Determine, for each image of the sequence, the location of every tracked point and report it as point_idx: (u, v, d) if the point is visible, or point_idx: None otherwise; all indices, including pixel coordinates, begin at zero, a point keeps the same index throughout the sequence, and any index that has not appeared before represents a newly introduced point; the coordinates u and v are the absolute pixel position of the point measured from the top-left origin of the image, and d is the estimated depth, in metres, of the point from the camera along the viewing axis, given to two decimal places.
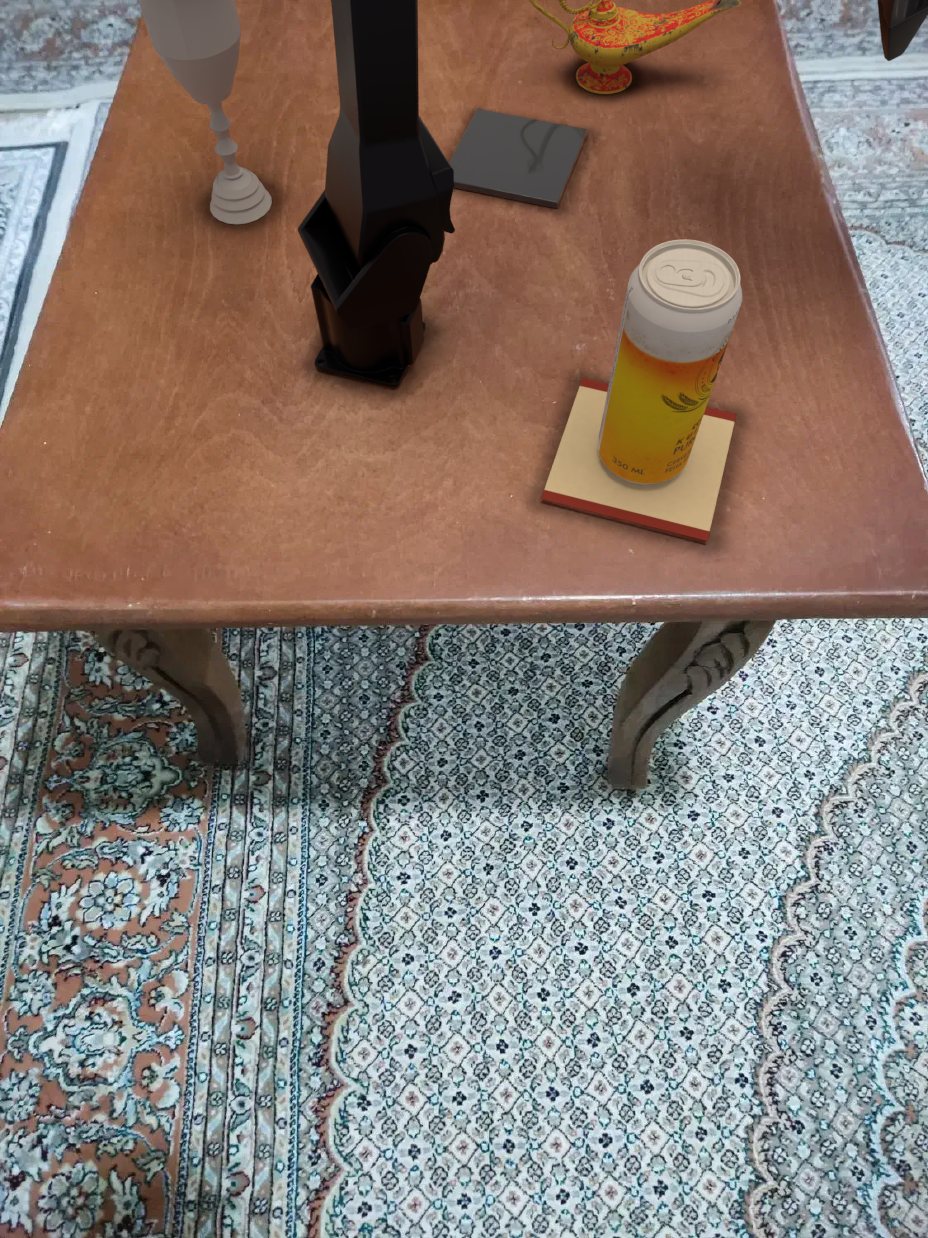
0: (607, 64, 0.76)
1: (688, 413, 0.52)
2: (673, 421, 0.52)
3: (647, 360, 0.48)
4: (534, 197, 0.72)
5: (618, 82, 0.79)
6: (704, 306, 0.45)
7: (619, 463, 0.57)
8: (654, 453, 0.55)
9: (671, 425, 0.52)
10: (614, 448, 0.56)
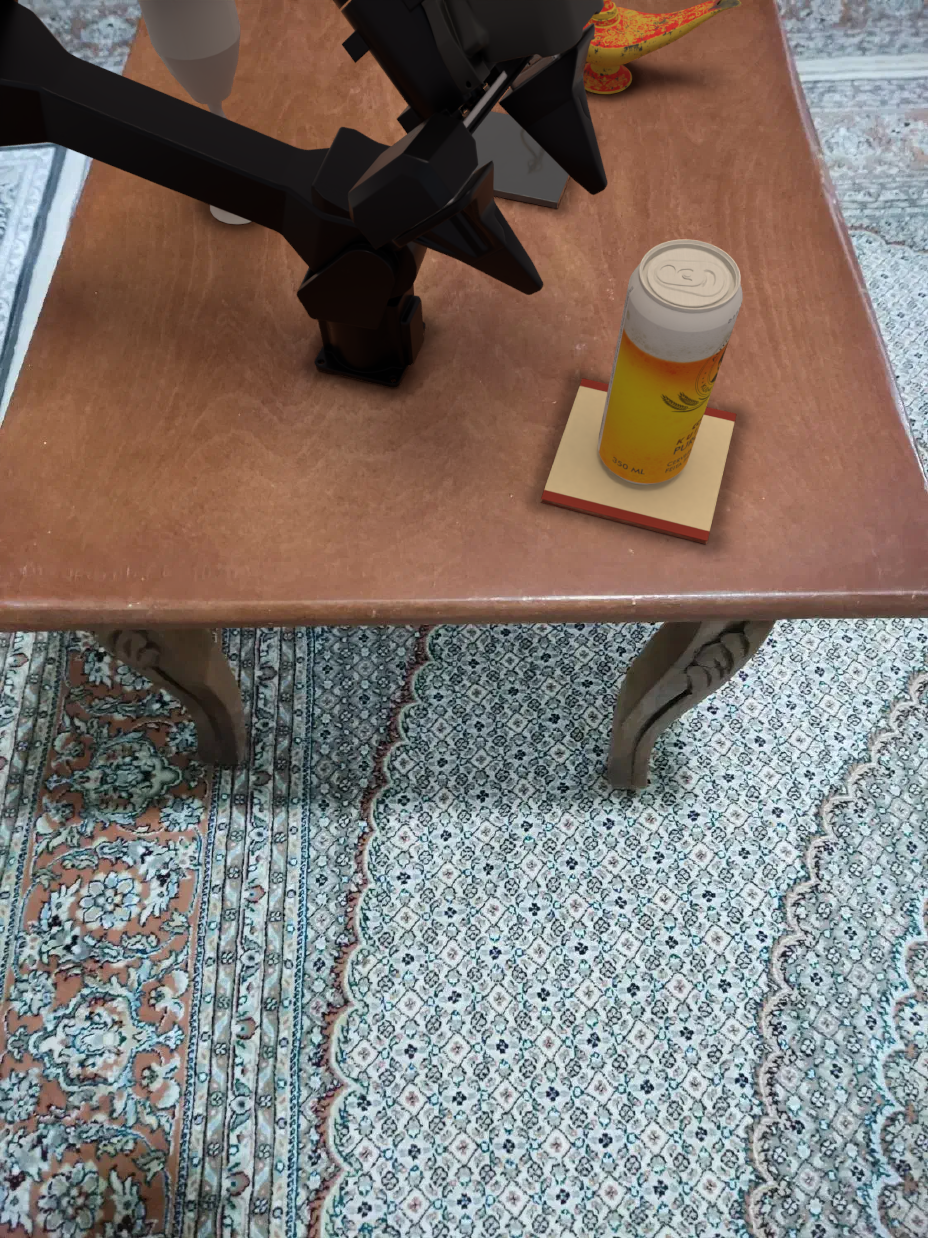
0: (607, 64, 0.76)
1: (689, 413, 0.52)
2: (673, 421, 0.52)
3: (647, 360, 0.48)
4: (534, 197, 0.72)
5: (618, 82, 0.79)
6: (704, 306, 0.45)
7: (619, 462, 0.57)
8: (654, 453, 0.55)
9: (671, 425, 0.52)
10: (614, 448, 0.56)
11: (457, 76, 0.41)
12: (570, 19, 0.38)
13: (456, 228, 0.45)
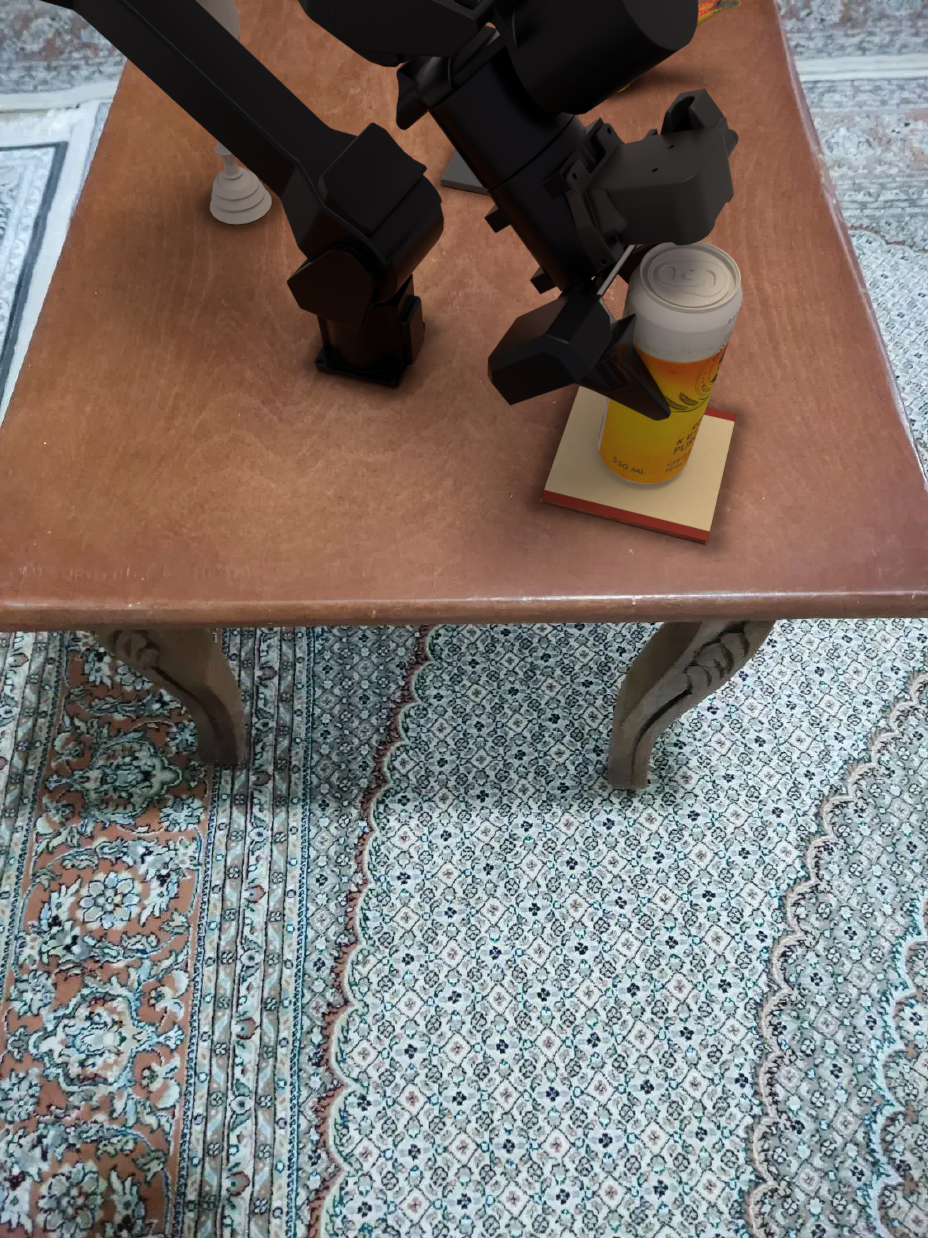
0: None
1: (689, 413, 0.52)
2: (673, 421, 0.52)
3: (647, 360, 0.48)
4: None
5: None
6: (704, 306, 0.45)
7: (619, 462, 0.57)
8: (655, 453, 0.55)
9: (671, 425, 0.52)
10: (614, 448, 0.56)
11: (593, 254, 0.45)
12: (705, 215, 0.41)
13: (595, 365, 0.49)
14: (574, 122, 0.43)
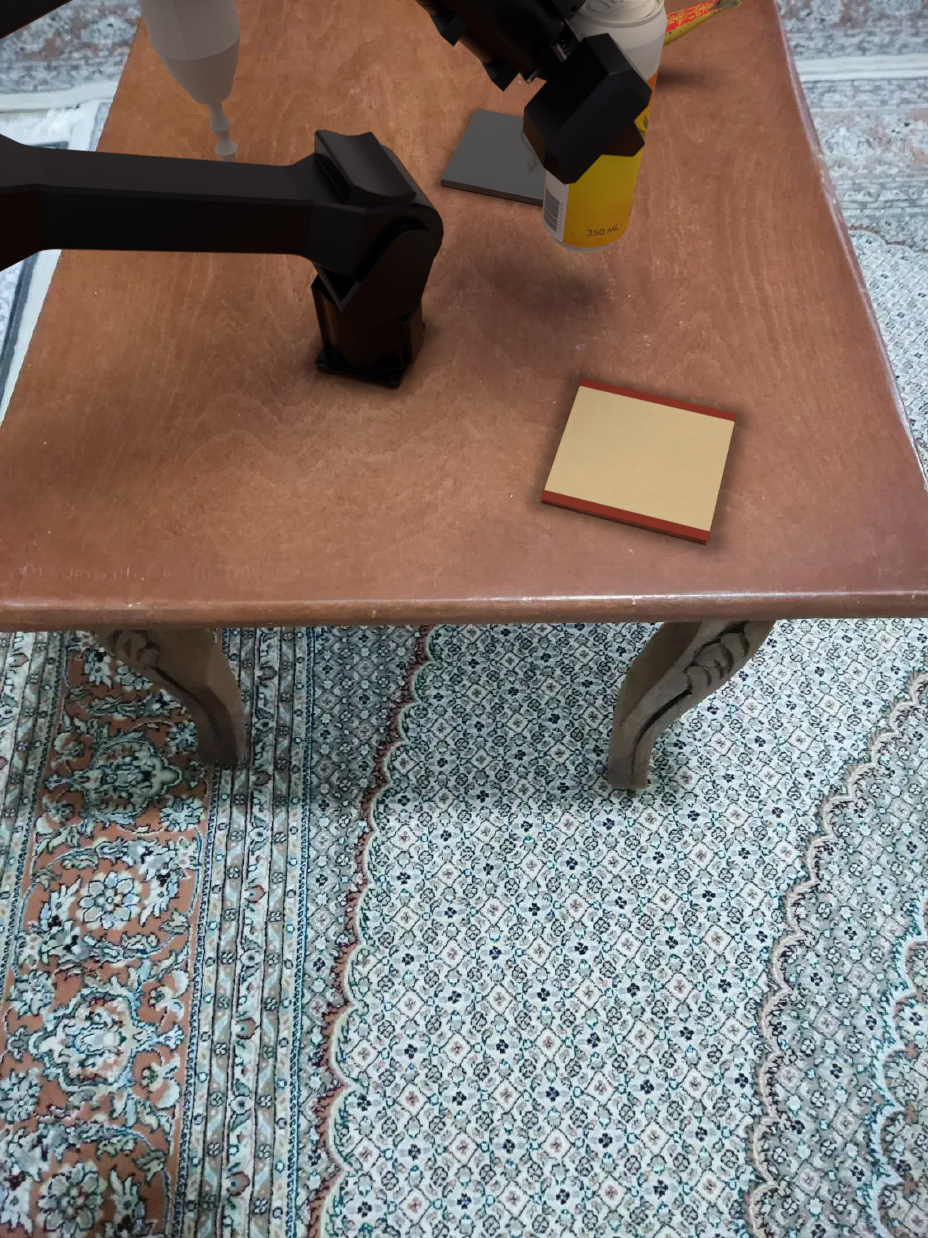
0: None
1: (644, 139, 0.56)
2: (638, 153, 0.56)
3: None
4: (534, 197, 0.72)
5: None
6: (652, 11, 0.49)
7: (595, 231, 0.59)
8: (625, 199, 0.58)
9: (637, 158, 0.56)
10: (588, 220, 0.58)
11: (564, 6, 0.46)
12: None
13: None
14: None
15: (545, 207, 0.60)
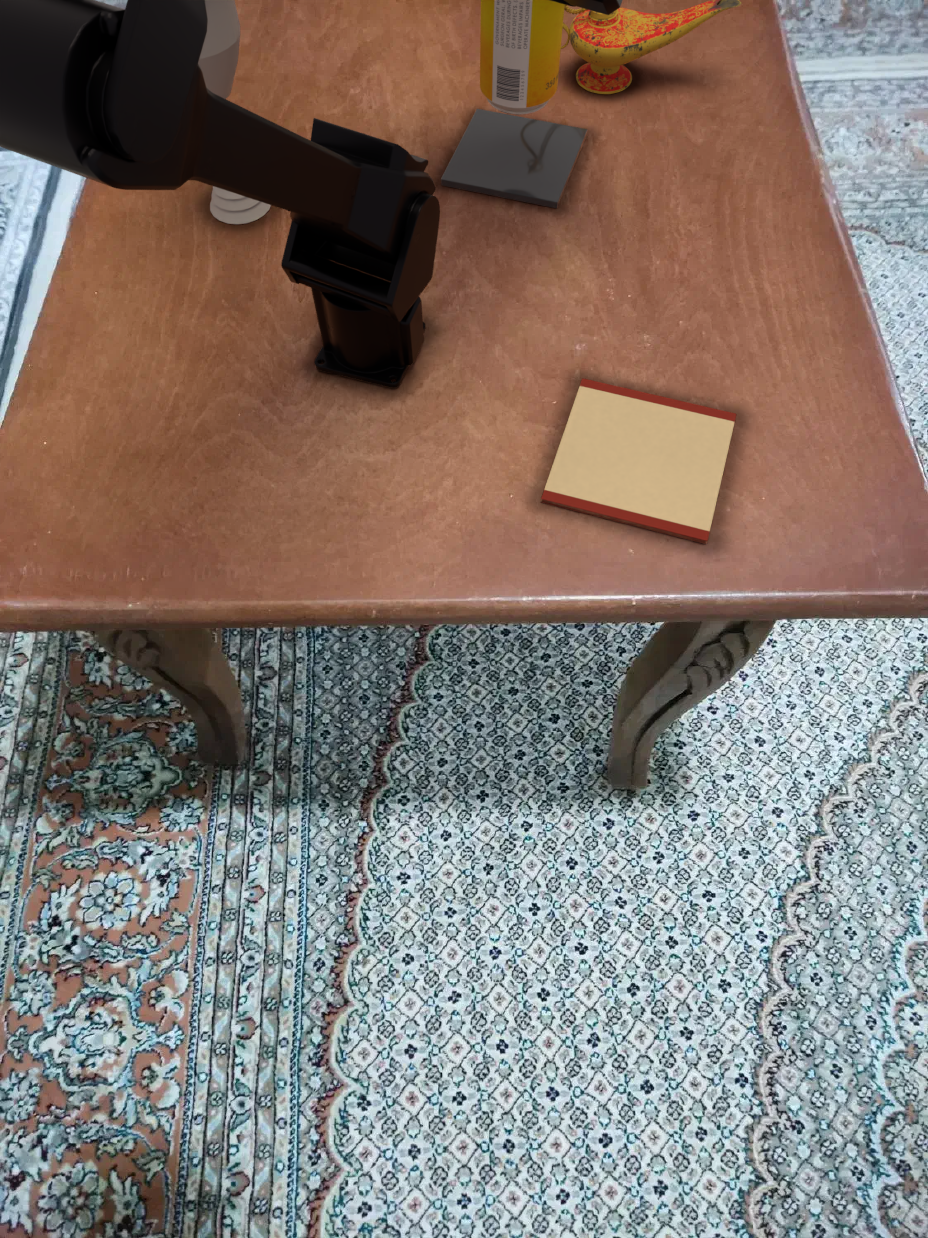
0: (607, 64, 0.76)
1: None
2: None
3: None
4: (534, 197, 0.72)
5: (618, 82, 0.79)
6: None
7: (550, 83, 0.67)
8: None
9: None
10: (546, 74, 0.66)
11: None
12: None
13: None
14: None
15: (499, 86, 0.67)
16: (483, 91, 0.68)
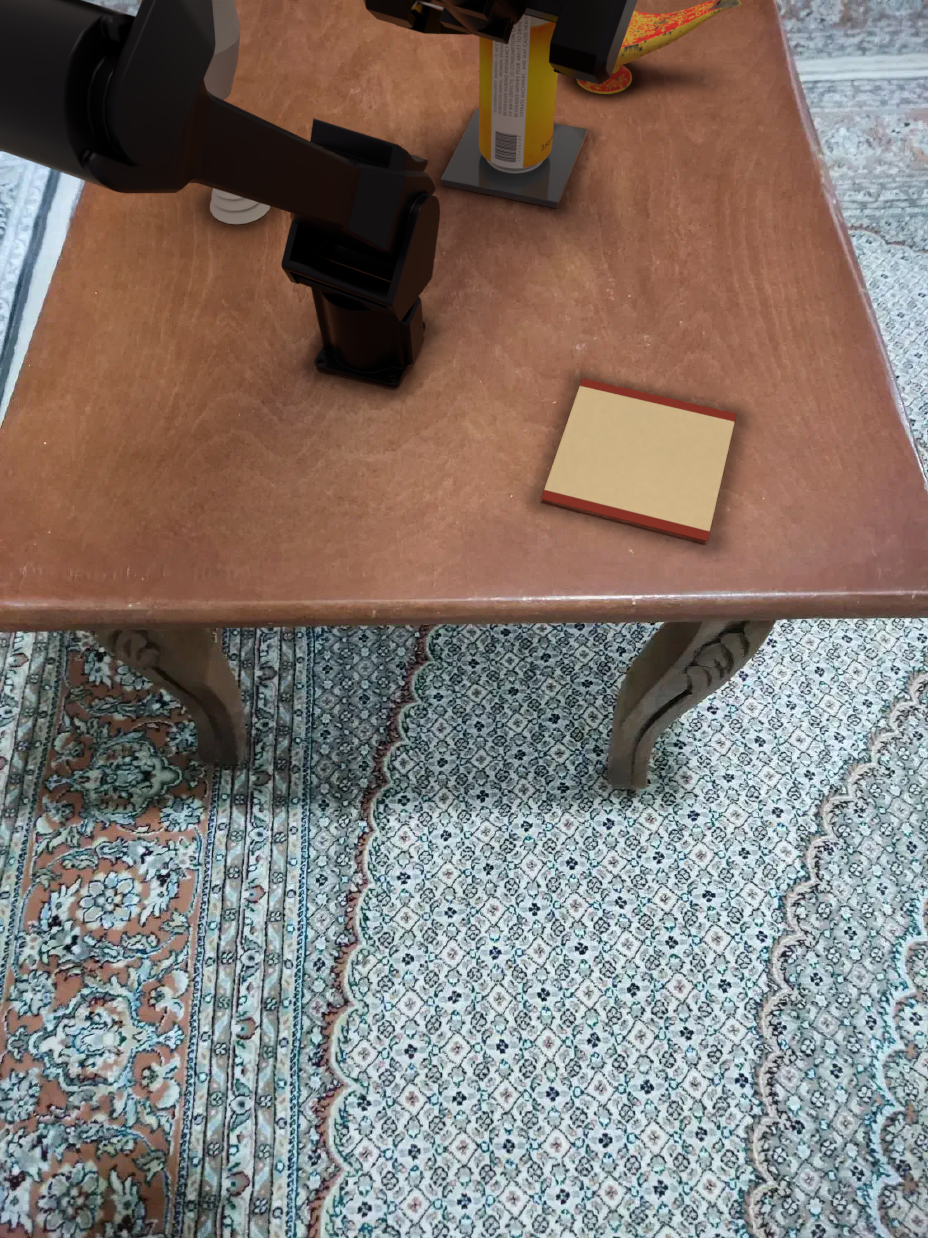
0: None
1: None
2: None
3: None
4: (534, 197, 0.72)
5: (618, 82, 0.79)
6: None
7: (545, 144, 0.72)
8: None
9: None
10: (541, 137, 0.71)
11: None
12: None
13: None
14: None
15: (497, 148, 0.71)
16: (482, 152, 0.73)
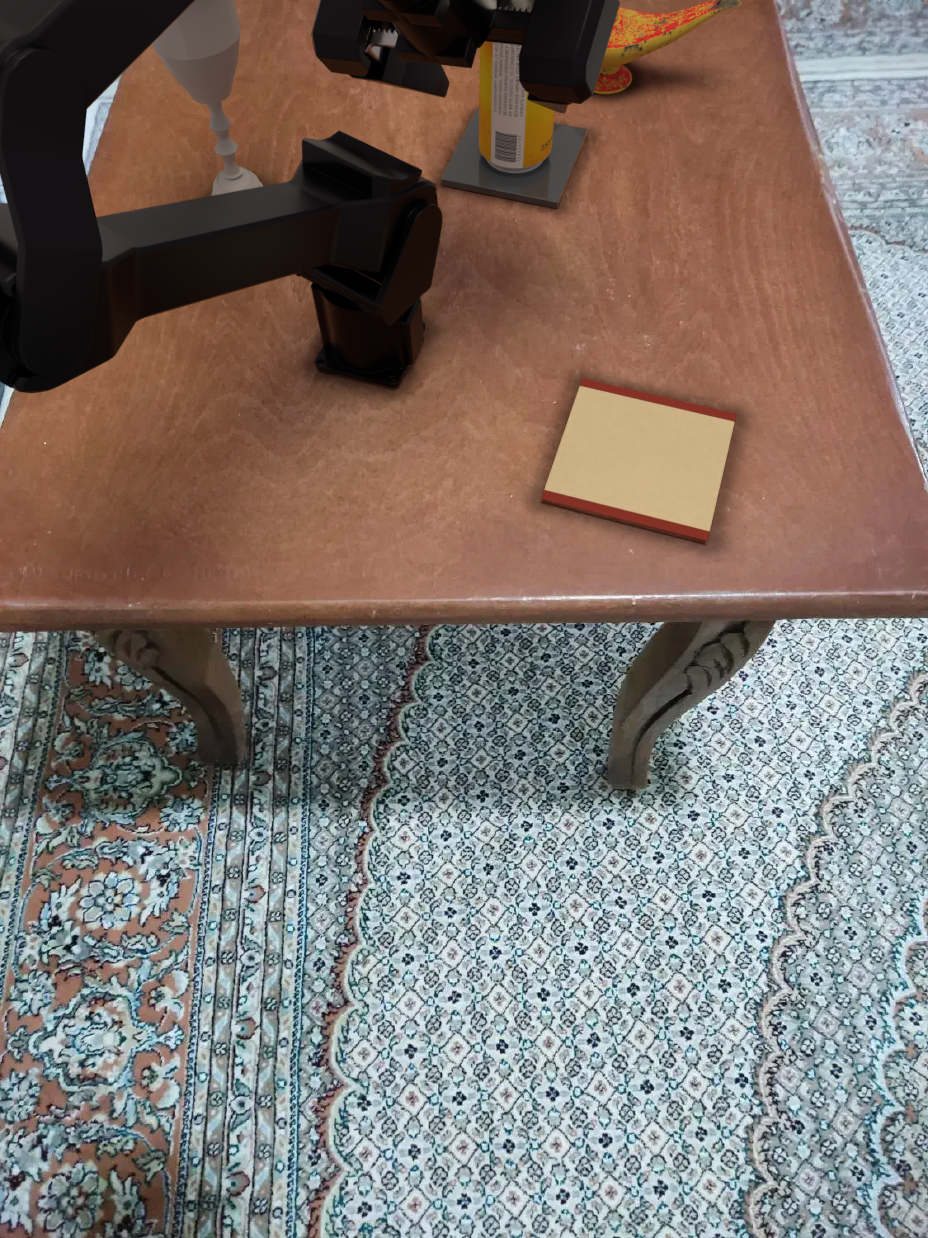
0: (607, 64, 0.76)
1: None
2: None
3: None
4: (534, 197, 0.72)
5: (618, 82, 0.79)
6: None
7: (545, 144, 0.72)
8: None
9: None
10: (541, 137, 0.71)
11: None
12: None
13: None
14: None
15: (497, 148, 0.71)
16: (482, 152, 0.73)
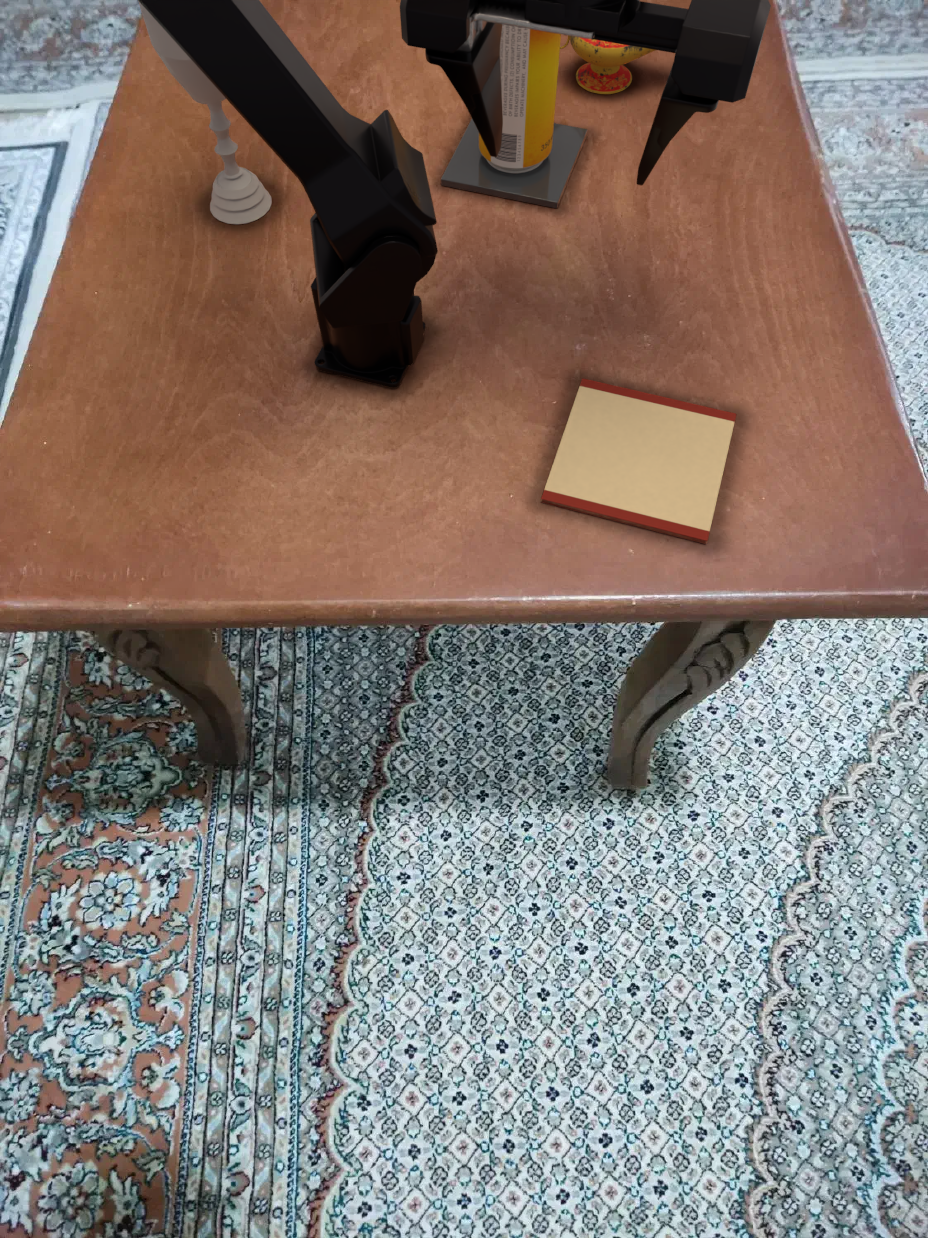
0: (607, 64, 0.76)
1: None
2: None
3: None
4: (534, 197, 0.72)
5: (618, 82, 0.79)
6: None
7: (545, 144, 0.72)
8: None
9: None
10: (541, 137, 0.71)
11: None
12: None
13: None
14: None
15: None
16: (482, 152, 0.73)
